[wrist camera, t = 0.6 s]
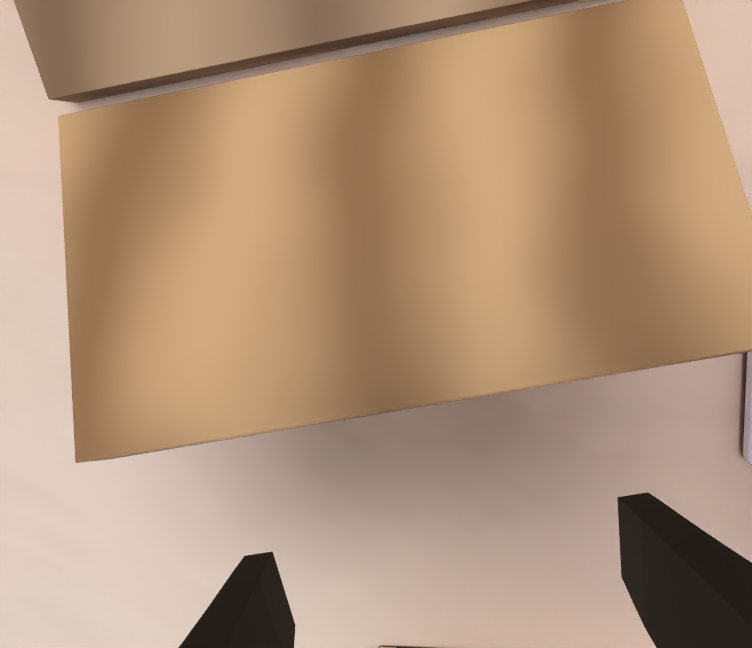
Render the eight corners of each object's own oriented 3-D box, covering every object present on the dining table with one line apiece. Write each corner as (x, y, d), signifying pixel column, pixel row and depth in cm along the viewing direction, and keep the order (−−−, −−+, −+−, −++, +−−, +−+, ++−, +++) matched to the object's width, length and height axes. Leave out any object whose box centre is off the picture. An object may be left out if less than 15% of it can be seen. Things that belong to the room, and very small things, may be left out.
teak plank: (655, 29, 16) (679, -10, 15) (754, 350, 14) (792, 342, 13) (89, 142, 17) (58, 115, 16) (108, 459, 15) (75, 462, 14)
